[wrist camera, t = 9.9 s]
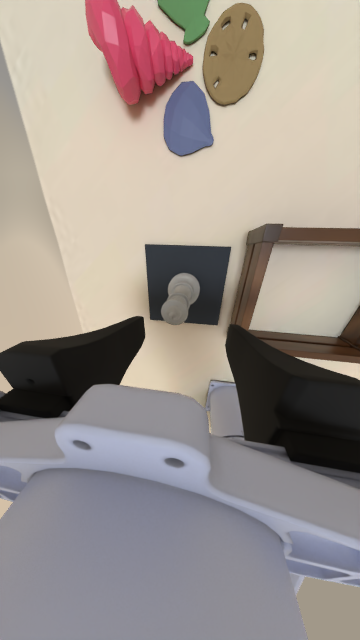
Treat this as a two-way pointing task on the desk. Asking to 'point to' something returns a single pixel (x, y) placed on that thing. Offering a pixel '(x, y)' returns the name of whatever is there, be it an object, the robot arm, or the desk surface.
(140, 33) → the toy pieces
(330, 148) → the desk surface
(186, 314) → the chess piece
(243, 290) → the crate
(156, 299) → the mat
